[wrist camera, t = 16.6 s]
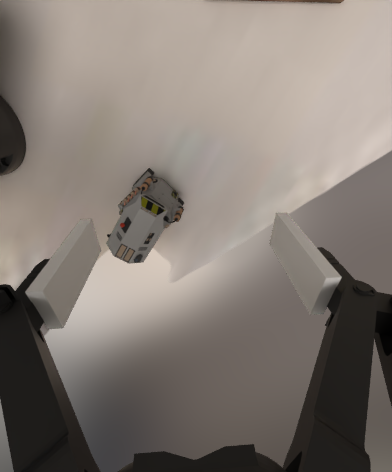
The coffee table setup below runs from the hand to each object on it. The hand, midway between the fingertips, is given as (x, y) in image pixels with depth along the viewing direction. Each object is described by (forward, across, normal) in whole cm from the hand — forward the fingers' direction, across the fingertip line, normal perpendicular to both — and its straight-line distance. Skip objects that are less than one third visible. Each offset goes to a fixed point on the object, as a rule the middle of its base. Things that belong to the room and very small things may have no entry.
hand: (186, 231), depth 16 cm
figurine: (+26, -6, -9) cm, 29 cm away
